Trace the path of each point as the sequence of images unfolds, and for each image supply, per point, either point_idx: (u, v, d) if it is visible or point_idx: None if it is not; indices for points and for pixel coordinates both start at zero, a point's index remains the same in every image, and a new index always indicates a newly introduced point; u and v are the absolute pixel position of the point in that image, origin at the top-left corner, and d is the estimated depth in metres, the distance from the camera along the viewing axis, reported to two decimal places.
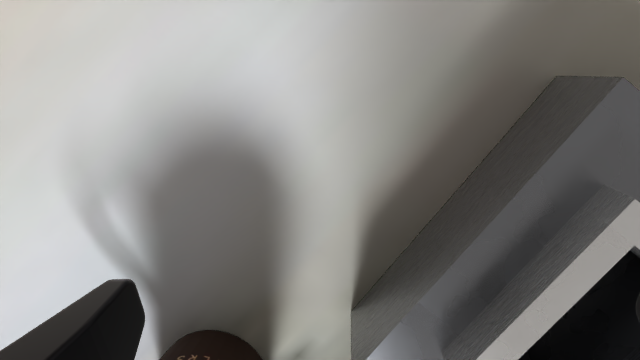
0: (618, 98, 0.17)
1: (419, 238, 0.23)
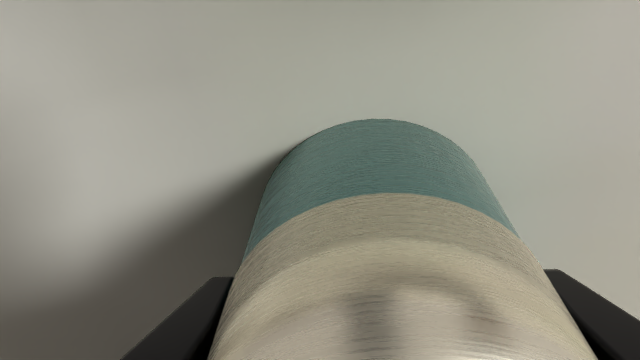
0: None
1: None
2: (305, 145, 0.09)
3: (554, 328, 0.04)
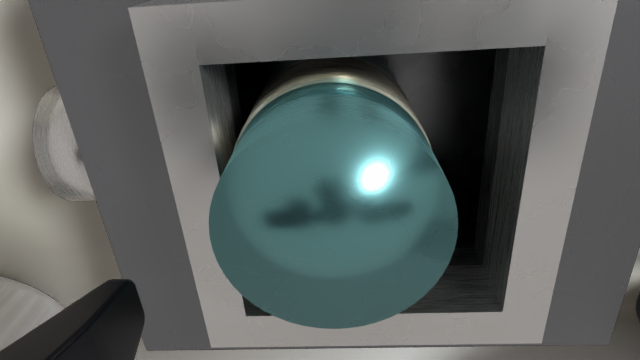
0: (161, 342, 0.16)
1: None
2: None
3: (391, 88, 0.11)
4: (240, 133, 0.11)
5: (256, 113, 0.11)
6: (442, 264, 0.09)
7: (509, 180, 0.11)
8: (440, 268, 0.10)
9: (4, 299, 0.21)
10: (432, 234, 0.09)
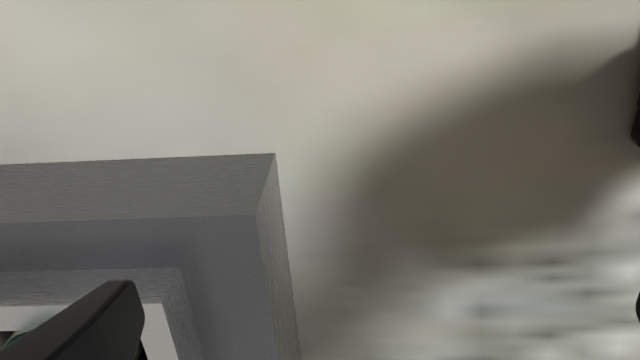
0: None
1: None
2: None
3: None
4: None
5: (6, 342, 0.18)
6: None
7: None
8: None
9: None
10: None
